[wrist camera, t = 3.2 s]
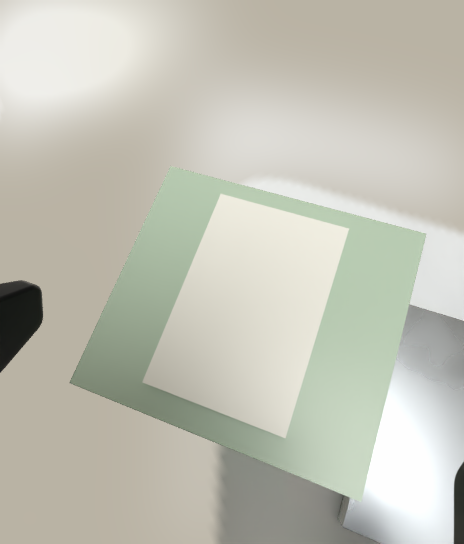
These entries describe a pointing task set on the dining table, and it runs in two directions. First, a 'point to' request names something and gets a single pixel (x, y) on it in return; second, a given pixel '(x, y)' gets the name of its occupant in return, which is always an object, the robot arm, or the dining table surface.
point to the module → (259, 325)
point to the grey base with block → (416, 439)
